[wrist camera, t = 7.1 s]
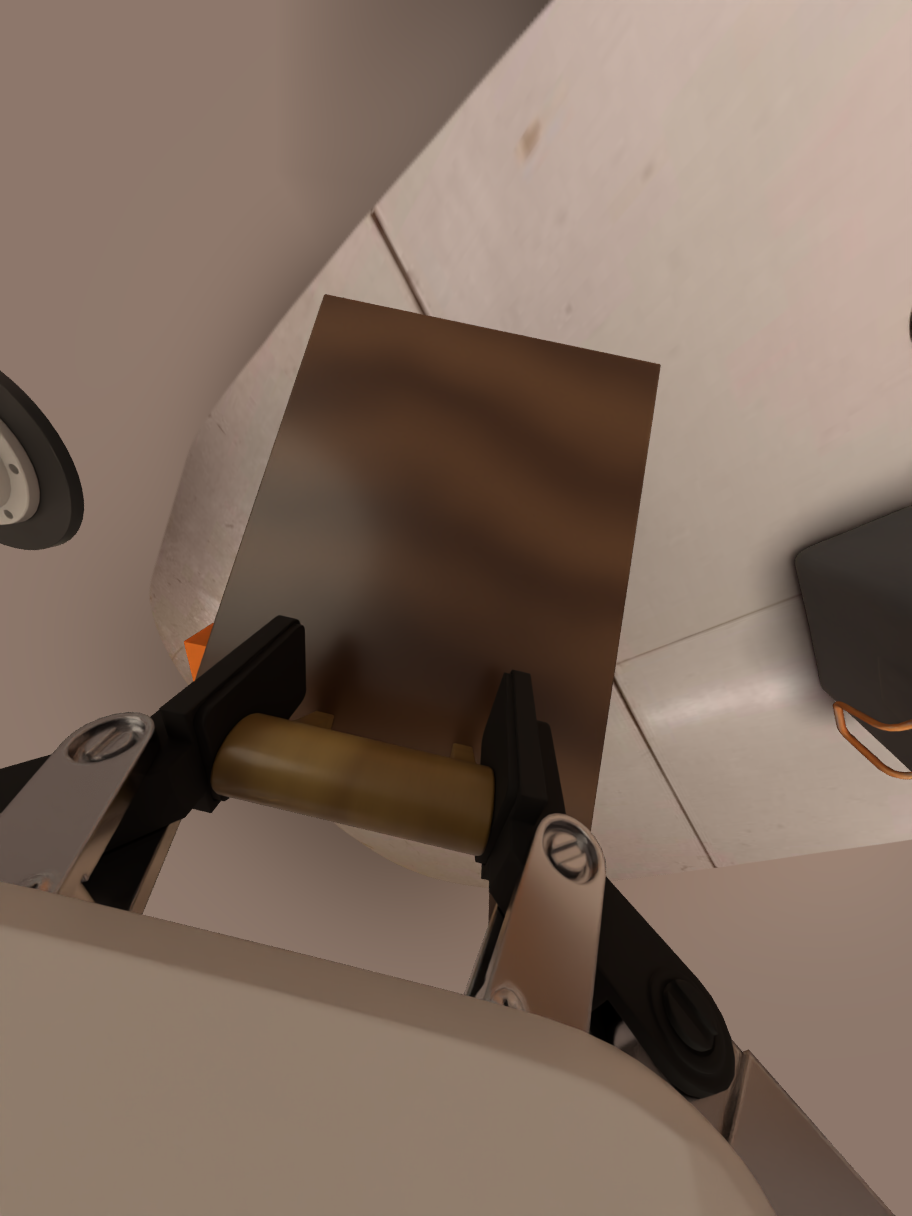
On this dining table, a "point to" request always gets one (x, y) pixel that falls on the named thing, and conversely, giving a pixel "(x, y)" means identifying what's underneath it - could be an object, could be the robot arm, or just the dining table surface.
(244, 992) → the robot arm
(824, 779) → the dining table surface
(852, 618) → the storage bin
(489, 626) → the lid
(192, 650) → the block
